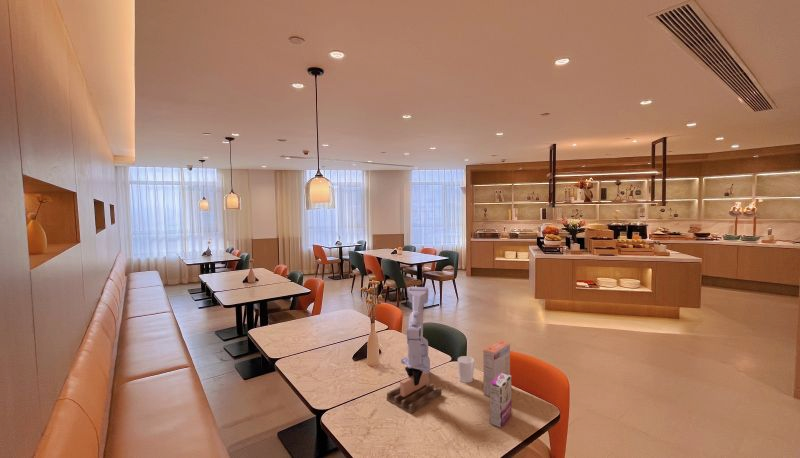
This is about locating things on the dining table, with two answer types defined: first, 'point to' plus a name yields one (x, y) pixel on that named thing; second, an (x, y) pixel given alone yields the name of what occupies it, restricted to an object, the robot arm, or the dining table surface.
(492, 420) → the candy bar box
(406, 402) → the slatted brown panel
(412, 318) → the robot arm
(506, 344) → the cracker box
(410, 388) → the clay strip
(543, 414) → the dining table surface
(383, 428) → the dining table surface
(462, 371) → the white cup
